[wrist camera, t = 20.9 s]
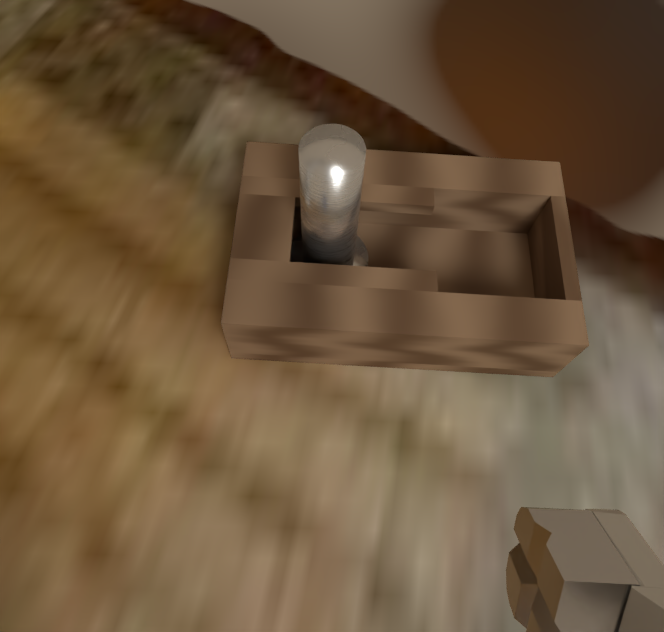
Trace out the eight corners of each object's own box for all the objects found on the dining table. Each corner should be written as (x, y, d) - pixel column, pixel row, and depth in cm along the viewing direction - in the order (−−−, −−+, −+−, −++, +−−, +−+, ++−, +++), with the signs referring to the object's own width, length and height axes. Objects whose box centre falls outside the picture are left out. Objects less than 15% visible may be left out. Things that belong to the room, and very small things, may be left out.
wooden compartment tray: (531, 209, 46) (559, 162, 41) (552, 377, 40) (589, 345, 35) (253, 191, 46) (246, 141, 40) (231, 358, 39) (220, 323, 34)
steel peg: (287, 300, 40) (276, 189, 30) (290, 233, 43) (282, 108, 32) (367, 302, 40) (386, 192, 30) (366, 234, 43) (383, 111, 32)
